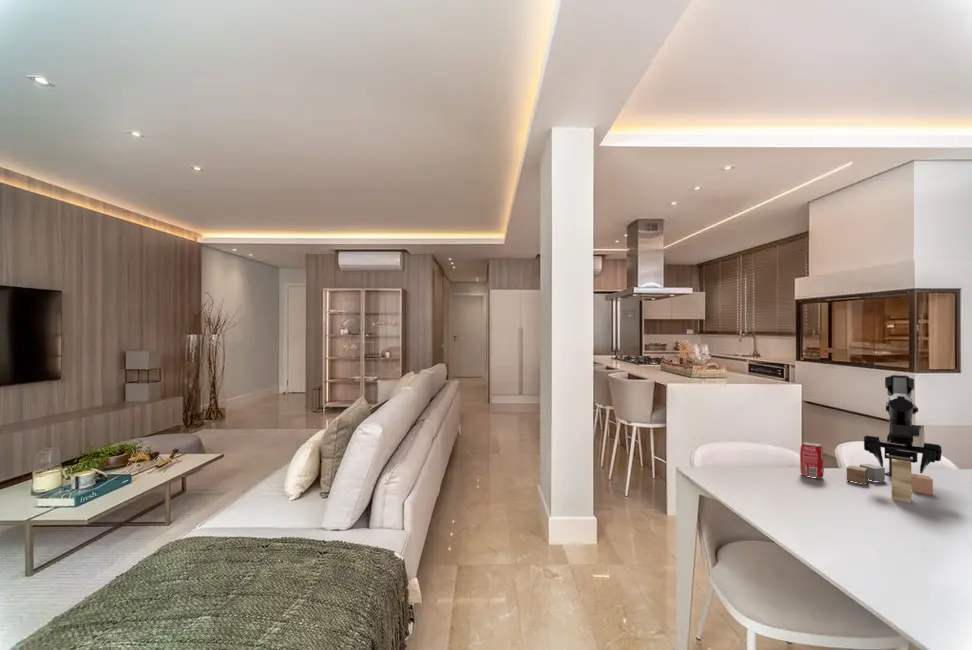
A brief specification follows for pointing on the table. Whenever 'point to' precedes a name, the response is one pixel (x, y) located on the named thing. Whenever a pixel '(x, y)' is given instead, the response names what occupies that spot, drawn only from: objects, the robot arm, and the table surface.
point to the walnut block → (857, 474)
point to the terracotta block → (921, 484)
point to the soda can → (812, 459)
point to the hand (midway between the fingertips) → (901, 469)
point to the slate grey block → (875, 472)
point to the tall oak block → (901, 480)
